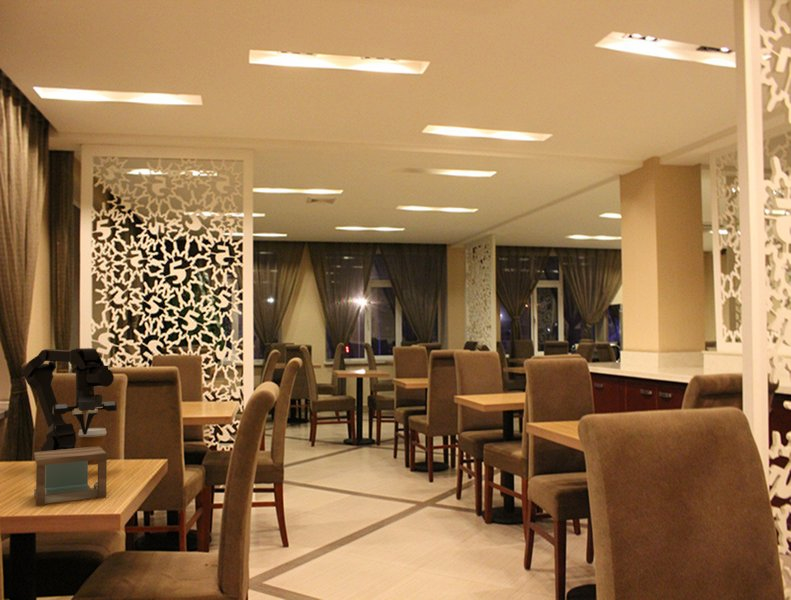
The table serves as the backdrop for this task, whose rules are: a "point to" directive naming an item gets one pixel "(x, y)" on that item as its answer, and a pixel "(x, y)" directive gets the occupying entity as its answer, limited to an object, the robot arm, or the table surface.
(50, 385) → the robot arm
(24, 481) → the table surface
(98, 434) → the disposable coffee cup
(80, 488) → the teal plastic shell
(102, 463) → the walnut overhang shelf
